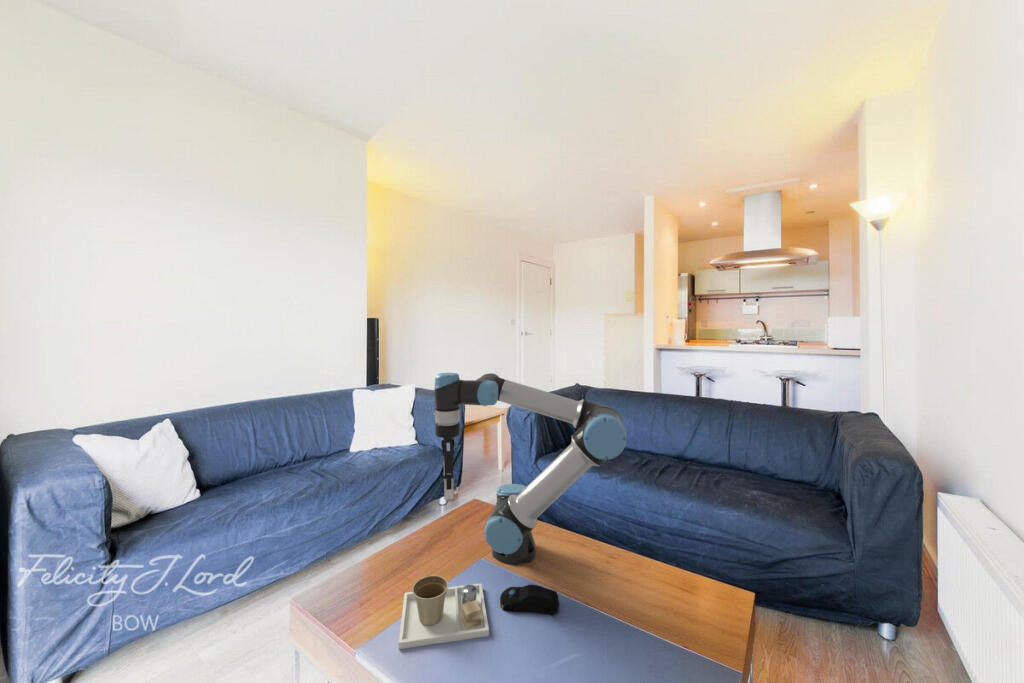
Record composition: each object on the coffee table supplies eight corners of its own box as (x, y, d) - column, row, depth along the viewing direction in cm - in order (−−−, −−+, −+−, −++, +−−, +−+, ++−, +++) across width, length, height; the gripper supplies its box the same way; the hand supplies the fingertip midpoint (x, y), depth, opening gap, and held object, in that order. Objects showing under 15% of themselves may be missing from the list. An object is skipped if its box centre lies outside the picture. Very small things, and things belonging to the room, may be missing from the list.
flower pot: (441, 633, 102) (440, 601, 101) (406, 628, 104) (405, 596, 103) (453, 607, 111) (453, 577, 111) (421, 602, 113) (421, 573, 112)
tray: (481, 590, 119) (481, 583, 119) (488, 638, 101) (488, 629, 101) (404, 600, 115) (404, 592, 115) (398, 651, 97) (398, 642, 97)
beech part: (475, 614, 109) (475, 600, 108) (481, 624, 105) (480, 609, 105) (461, 619, 107) (461, 604, 107) (466, 629, 103) (466, 614, 103)
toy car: (501, 595, 117) (501, 578, 117) (559, 599, 115) (559, 582, 115) (498, 614, 110) (497, 596, 110) (559, 619, 108) (559, 601, 108)
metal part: (468, 595, 115) (468, 582, 115) (479, 601, 113) (479, 588, 113) (459, 604, 112) (459, 591, 112) (470, 610, 110) (470, 597, 110)
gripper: (435, 413, 137) (436, 474, 138) (434, 434, 112) (436, 508, 114) (457, 412, 138) (458, 473, 139) (461, 433, 114) (462, 506, 115)
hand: (448, 489), depth 126 cm, fingers open, 13 cm apart
